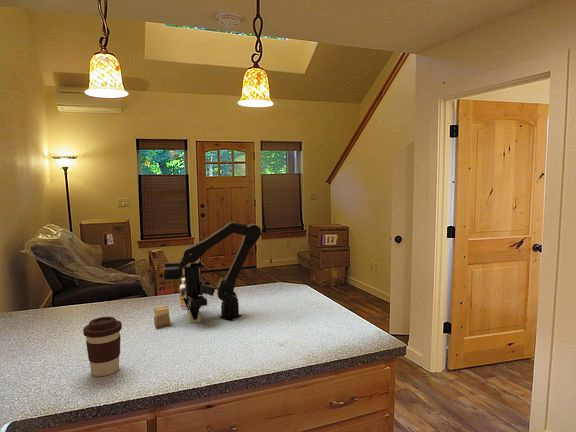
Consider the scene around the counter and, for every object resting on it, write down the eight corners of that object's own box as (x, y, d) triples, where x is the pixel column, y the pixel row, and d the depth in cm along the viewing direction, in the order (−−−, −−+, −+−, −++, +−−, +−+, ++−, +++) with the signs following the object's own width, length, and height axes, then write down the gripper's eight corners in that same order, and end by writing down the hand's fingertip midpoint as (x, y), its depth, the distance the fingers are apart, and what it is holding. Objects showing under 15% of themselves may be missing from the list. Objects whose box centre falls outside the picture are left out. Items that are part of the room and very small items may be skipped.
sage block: (200, 321, 150) (200, 311, 149) (190, 323, 148) (189, 313, 148) (197, 318, 153) (197, 308, 153) (187, 319, 151) (187, 310, 151)
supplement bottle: (179, 306, 168) (177, 277, 167) (194, 304, 171) (193, 275, 170) (181, 311, 162) (180, 281, 161) (197, 308, 165) (196, 279, 164)
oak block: (169, 317, 145) (168, 308, 144) (156, 319, 143) (156, 310, 142) (166, 314, 149) (166, 305, 148) (154, 316, 147) (154, 307, 146)
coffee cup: (129, 362, 116) (126, 313, 115) (115, 379, 106) (112, 326, 105) (95, 363, 116) (93, 314, 115) (79, 380, 106) (75, 327, 105)
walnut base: (170, 326, 145) (169, 317, 144) (156, 329, 142) (156, 320, 142) (167, 322, 149) (167, 313, 149) (154, 325, 147) (153, 316, 147)
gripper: (219, 281, 145) (221, 321, 146) (206, 271, 161) (207, 307, 162) (190, 285, 139) (191, 327, 141) (179, 274, 156) (180, 312, 157)
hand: (193, 318), depth 151 cm, fingers closed on sage block, 4 cm apart
